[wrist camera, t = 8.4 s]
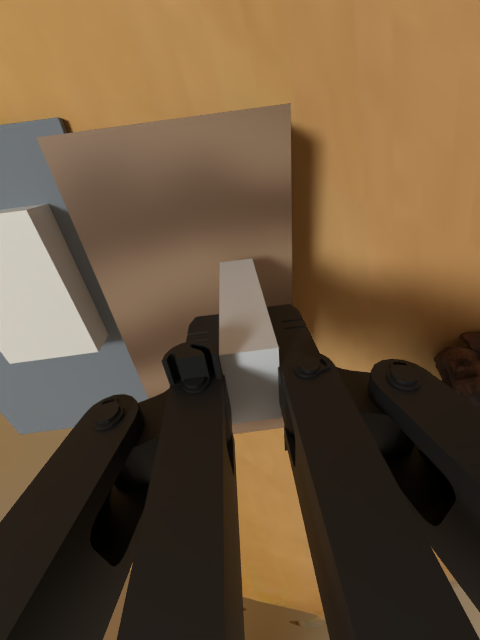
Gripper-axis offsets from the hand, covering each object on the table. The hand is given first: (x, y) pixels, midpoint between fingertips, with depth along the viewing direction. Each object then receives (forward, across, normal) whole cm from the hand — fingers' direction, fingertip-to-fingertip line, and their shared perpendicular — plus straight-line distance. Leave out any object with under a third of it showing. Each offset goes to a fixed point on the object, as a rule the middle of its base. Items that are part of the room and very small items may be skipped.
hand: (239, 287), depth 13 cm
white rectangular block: (+3, -13, 0) cm, 13 cm away
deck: (+6, -2, -3) cm, 7 cm away
